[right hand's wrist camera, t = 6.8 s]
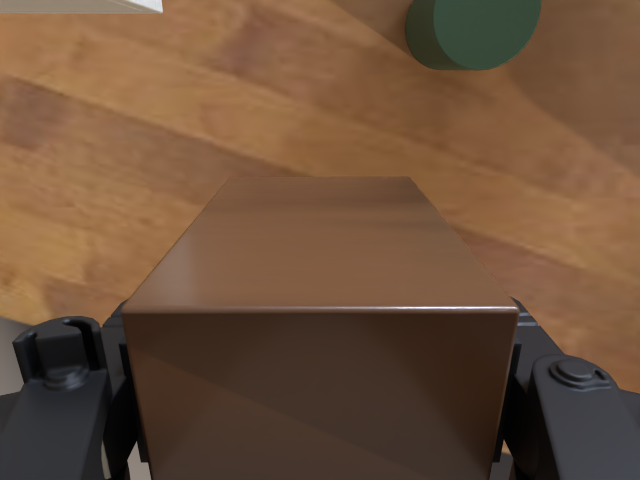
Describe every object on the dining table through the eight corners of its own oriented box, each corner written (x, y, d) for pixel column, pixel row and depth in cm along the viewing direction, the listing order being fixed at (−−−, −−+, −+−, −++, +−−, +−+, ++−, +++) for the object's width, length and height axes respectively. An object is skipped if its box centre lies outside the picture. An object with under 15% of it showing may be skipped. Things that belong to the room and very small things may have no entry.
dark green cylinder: (442, -40, 29) (484, -78, 22) (504, 16, 30) (564, -2, 23) (388, 36, 31) (410, 25, 23) (449, 86, 32) (488, 91, 24)
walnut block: (229, 176, 13) (116, 308, 6) (410, 176, 13) (523, 308, 6) (240, 332, 15) (166, 577, 8) (399, 331, 15) (473, 577, 8)
